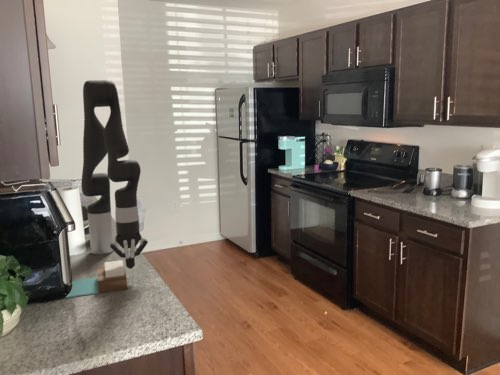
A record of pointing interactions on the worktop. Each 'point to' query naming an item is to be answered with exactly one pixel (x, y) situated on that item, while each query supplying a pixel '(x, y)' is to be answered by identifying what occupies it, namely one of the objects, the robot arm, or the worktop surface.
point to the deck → (110, 281)
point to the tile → (114, 269)
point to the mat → (84, 287)
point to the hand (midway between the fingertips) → (130, 267)
